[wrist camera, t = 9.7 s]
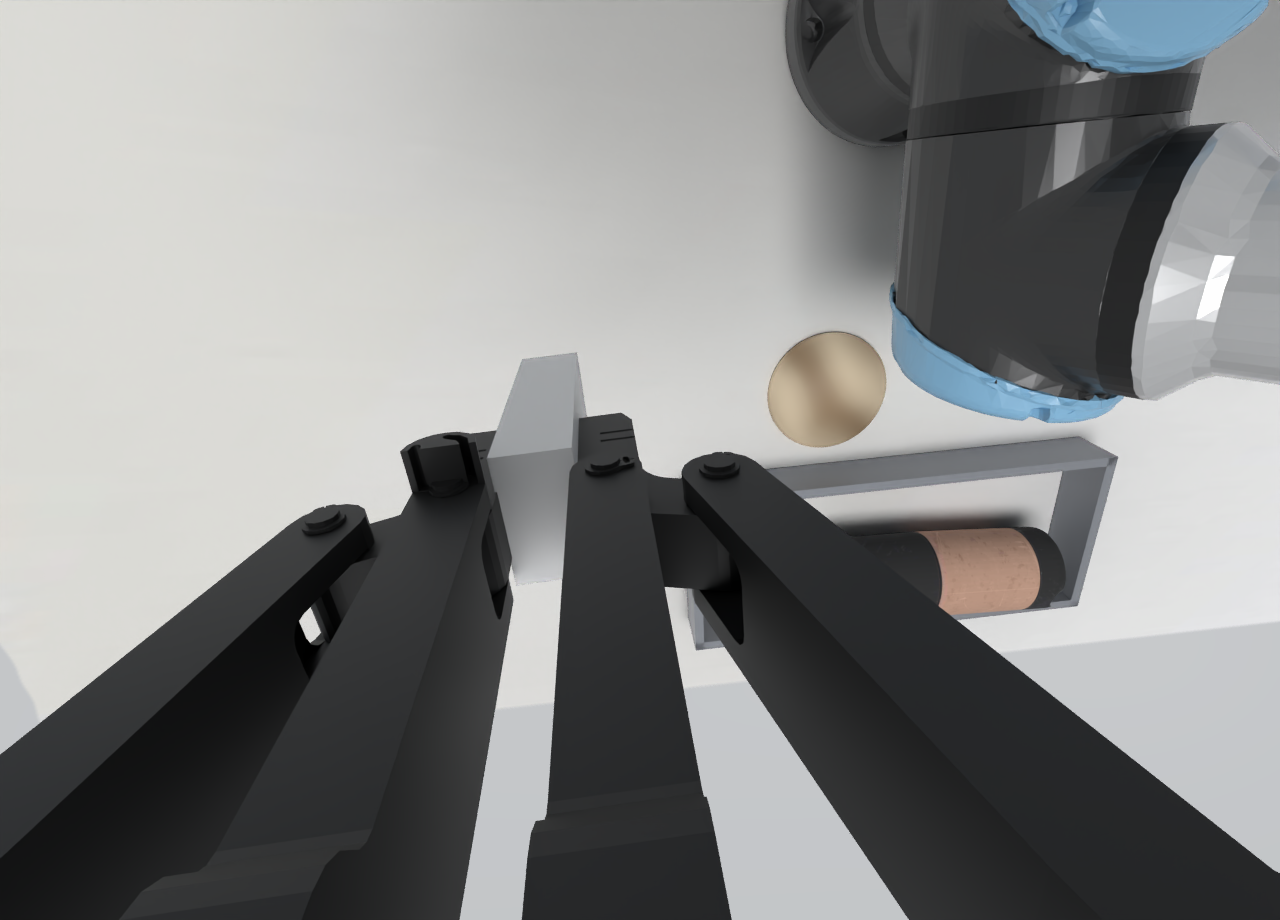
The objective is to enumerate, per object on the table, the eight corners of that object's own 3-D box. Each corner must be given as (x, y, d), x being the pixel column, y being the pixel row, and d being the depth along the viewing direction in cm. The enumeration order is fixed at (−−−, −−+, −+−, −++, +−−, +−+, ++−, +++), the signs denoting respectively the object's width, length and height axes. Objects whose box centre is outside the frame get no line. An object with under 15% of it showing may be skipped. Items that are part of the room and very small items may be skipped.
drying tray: (688, 618, 61) (695, 650, 57) (681, 478, 55) (689, 502, 51) (1045, 578, 63) (1077, 606, 59) (1079, 436, 56) (1118, 456, 52)
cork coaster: (822, 307, 50) (824, 308, 49) (907, 375, 53) (910, 377, 52) (743, 405, 52) (745, 407, 52) (828, 465, 55) (830, 467, 55)
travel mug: (808, 534, 60) (1004, 524, 62) (814, 615, 59) (1012, 602, 61) (840, 537, 52) (1062, 526, 54) (847, 629, 52) (1072, 615, 53)
